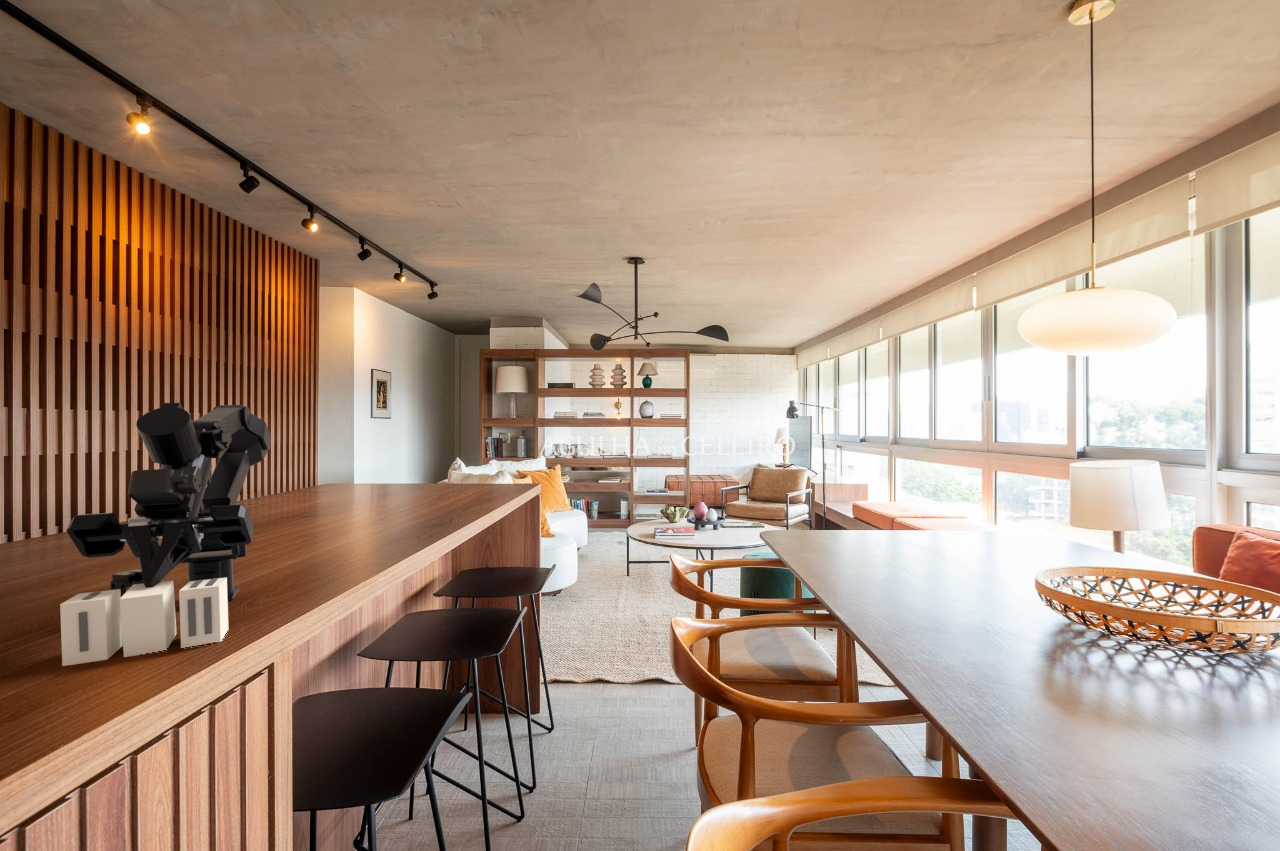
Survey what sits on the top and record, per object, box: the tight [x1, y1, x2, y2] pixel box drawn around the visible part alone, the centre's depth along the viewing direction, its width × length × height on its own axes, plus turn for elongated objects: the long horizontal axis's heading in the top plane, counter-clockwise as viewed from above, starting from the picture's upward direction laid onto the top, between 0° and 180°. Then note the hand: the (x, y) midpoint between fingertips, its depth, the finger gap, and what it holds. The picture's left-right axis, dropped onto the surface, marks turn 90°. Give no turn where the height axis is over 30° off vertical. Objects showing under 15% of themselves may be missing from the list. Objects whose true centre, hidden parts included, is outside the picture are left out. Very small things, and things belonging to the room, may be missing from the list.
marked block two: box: [178, 578, 230, 649], centre depth 77 cm, size 5×4×7 cm
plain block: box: [120, 579, 177, 658], centre depth 75 cm, size 5×4×7 cm
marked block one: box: [59, 589, 123, 667], centre depth 73 cm, size 5×4×7 cm
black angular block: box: [109, 568, 144, 597], centre depth 99 cm, size 12×7×5 cm, turn 165°
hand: (148, 585), depth 75 cm, fingers closed, pressing on plain block
